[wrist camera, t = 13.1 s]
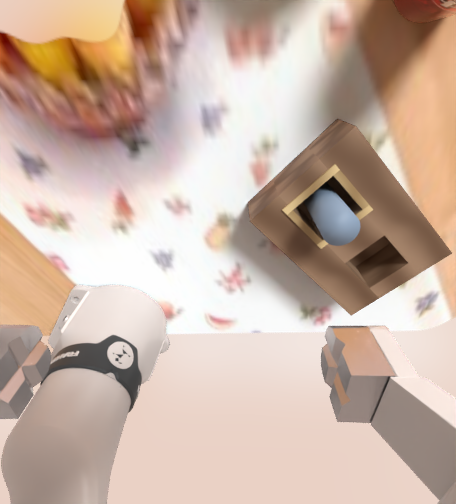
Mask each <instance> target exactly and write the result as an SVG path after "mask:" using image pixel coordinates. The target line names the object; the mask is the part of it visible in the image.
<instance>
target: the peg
mask: <svg viewBox="0 0 456 504" xmlns="http://www.w3.org/2000/svg"><path fill="white" fill-rule="evenodd" d="M303 202H304V204H305V205H306V207H307V209H308V211H309V213H310V215H311V216H312V218H313V220H314V222H315V224H316V226H317V228H318V229H319V231H320V233H321V235H322V237H323V239H324V240H325V241H326V242H327V243H328V244H330V245H334V246H341V245H345V244H348V243H350V242H351V241H353V240H354V239H355V238H356V237H357V235H358V233H359V231H360V221H359V219H358V218H357V216H356V215H355V214H354V213H353V212H352V211H351V210H350V208H349V207H348V206H347V205H346V204H345V203H344V201H343V200H342V199H341V198H340V197H339V196H338V195H337V193H336V192H335V191H334V190H333V189H332V188H331V186H330V185H329V184H328V183H327V182H325V183H324V184H323V185H322V186H320V187H319V188H318V189H317V190H316V191H315V192H313V193H312V194H311V195H310V196H309V197H308V198H306V199H305V200H304V201H303Z"/></svg>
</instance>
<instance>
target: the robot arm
mask: <svg viewBox="0 0 456 504" xmlns="http://www.w3.org/2000/svg"><path fill="white" fill-rule="evenodd" d="M77 297H78V298H77ZM42 336H43V335H42V333H41V331H40V329H39V327H37V326H30V325H0V419H18V418H19V417H20V415H21V413H22V412H23V410H24V409H25V407H26V406H27V404H28V403H29V401H30V399H31V398H32V396H33V387H34V386H35V385H37V384H38V383H39V382H41V386H40V388H39V389H38V391H37V392H36V394H35V396H34V397H33V399H32V400H31V402H30V403H29V405H28V407H27V408H26V410H25V411H24V413H23V414H22V416H21V418H20V419H19V421H18V422H17V424H16V425H15V427H14V428H13V430H12V432H11V433H10V435H9V436H8V438H7V440H6V443H5V446H4V449H3V454H2V460H1V467H2V473H3V477H4V479H5V482H6V485H7V487H8V491H9V494H10V500H11V504H107V495H108V488H109V481H110V475H111V470H112V465H113V462H114V458H115V455H116V451H117V448H118V444H119V441H120V437H121V434H122V430H123V427H124V424H125V421H126V418H127V414H128V413H129V412H130V411H131V409H132V408H133V405H134V403H135V401H136V399H137V397H138V394H139V391H140V385H141V384H142V383H144V382H145V381H148V380H149V379H150V378H151V376H152V373H153V370H154V368H155V365H156V362H157V360H158V357H159V354H160V353H163V352H165V351H166V350H168V348H169V345H170V342H169V339H168V337H167V335H166V317H165V314H164V312H163V310H162V308H161V307H160V305H159V304H158V303H157V302H156V301H155V300H154V299H153V298H151V297H150V296H149V295H147V294H145V293H144V292H142V291H140V290H137V289H135V288H132V287H128V286H123V285H105V286H99V287H92V286H86V285H75V286H74V287H73V289H72V290H71V292H70V294H69V296H68V299H67V301H66V303H65V305H64V307H63V309H62V311H61V313H60V316H59V318H58V320H57V322H56V324H55V326H54V328H53V330H52V333H51V335H50V337H49V339H48V342H49V344H50V345H51V347H52V348H53V349H54V350H53V352H52V354H51V352H50V350H49V348H48V346H47V345H45V344H44V343H42V342H41V341H40V340H41V338H42ZM325 338H326V341H327V344H326V345H325V346H324V347H323V348H322V353H321V367H322V373H323V377H324V380H325V382H326V383H327V384H328V385H329V386H330V387H331V388H332V390H331V394H330V400H331V403H332V406H333V409H334V413H335V415H336V419H337V421H338V422H362V423H371V425H372V427H373V428H374V429H375V430H376V431H377V432H378V433H379V434H380V435H381V437H382V438H383V439H384V440H385V441H386V442H387V443H388V444H389V445H390V446H391V447H392V449H393V450H394V451H395V452H396V453H397V454H398V455H399V456H400V457H401V459H402V460H403V461H404V462H405V463H406V464H407V465H408V466H409V467H410V468H411V470H412V471H413V472H414V473H415V474H416V475H417V476H418V477H419V478H420V480H421V481H422V482H423V483H424V484H425V485H426V486H427V487H428V488H429V489H430V491H431V492H432V493H433V494H434V495H435V496H436V497H437V498H438V499H439V500H440V501H439V502H438V504H456V398H455V397H453V396H452V395H451V394H449V393H448V392H446V391H445V390H443V389H442V388H440V387H439V386H438V385H436V384H435V383H433V382H432V381H430V380H429V379H428V378H426V377H419V376H418V374H417V373H416V371H415V369H414V368H413V366H412V365H411V363H410V362H409V360H408V358H407V357H406V355H405V354H404V352H403V351H402V349H401V348H400V346H399V344H398V343H397V341H396V340H395V338H394V336H393V335H392V333H391V332H390V330H389V329H388V328H387V327H386V326H328V328H327V330H326V334H325Z"/></svg>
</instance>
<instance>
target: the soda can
mask: <svg viewBox="0 0 456 504" xmlns="http://www.w3.org/2000/svg"><path fill="white" fill-rule="evenodd" d="M394 3H395V6H396V8H397V10H398V11H399V13H400V14H401V15H402V16H403V17H404V18H406V19H407V20H409V21H412V22H415V23H427V22H431V21H435V20H438V19H442V18H445V17H448V16H452V15H455V14H456V0H394Z"/></svg>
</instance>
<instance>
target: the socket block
mask: <svg viewBox="0 0 456 504" xmlns="http://www.w3.org/2000/svg"><path fill="white" fill-rule="evenodd" d="M325 182H327V183H328V184H329V185H330V186H331V188H332V189H333V190H334V191H335V192H336V193H337V195H338V196H339V197H340V198H341V199H342V200H343V201H344V203H345V204H346V205H347V206H348V207H349V208H350V210H351V211H352V212H353V213H354V214H355V215H356V216H357V218H358V219H359V221H360V231H359V233H358V235H357V237H356V238H355V239H354V240H353V241H351V242H350V243H348V244H345V245H341V246H334V245H330V244H328V243H327V242H326V241H325V240H324V239H323V237H322V235H321V233H320V231H319V229H318V228H317V226H316V224H315V222H314V220H313V218H312V216H311V215H310V213H309V211H308V209H307V207H306V205H305V204H304V202H303V201H304V200H305V199H306V198H308V197H309V196H310V195H311V194H312V193H313V192H315V191H316V190H317V189H318V188H319V187H320V186H322V185H323V184H324V183H325ZM248 206H249V217H250V222H251V223H252V224H253V225H254V226H255V227H257V228H258V229H259V230H260V231H261V232H262V233H263V234H264V235H265V236H266V237H267V238H268V239H269V240H270V241H272V242H273V243H274V244H275V245H276V246H277V247H278V248H279V249H280V250H281V251H282V252H283V253H284V254H286V255H287V256H288V257H289V258H290V259H291V260H292V261H293V262H294V263H295V264H296V265H297V266H298V267H300V268H301V269H302V270H303V271H304V272H305V273H306V274H307V275H308V276H309V277H310V278H311V279H312V280H314V281H315V282H316V283H317V284H318V285H319V286H320V287H321V288H322V289H323V290H324V291H325V292H326V293H328V294H329V295H330V296H331V297H332V298H333V299H334V300H335V301H336V302H337V303H338V304H339V305H340V306H342V307H343V308H344V309H345V310H346V311H347V312H348V313H349V314H350V315H353V314H354V313H356V312H358V311H359V310H361V309H362V308H364V307H366V306H367V305H369V304H371V303H372V302H374V301H375V300H377V299H379V298H380V297H382V296H384V295H385V294H387V293H388V292H390V291H392V290H393V289H395V288H397V287H398V286H400V285H401V284H403V283H405V282H406V281H408V280H410V279H411V278H413V277H414V276H416V275H418V274H419V273H421V272H423V271H424V270H426V269H427V268H429V267H431V266H432V265H434V264H436V263H437V262H439V261H440V260H442V259H444V258H445V257H447V256H449V255H450V254H452V252H451V251H450V250H449V248H448V247H447V246H446V244H445V243H444V242H443V240H442V239H441V238H440V236H439V235H438V234H437V232H436V231H435V230H434V229H433V227H432V226H431V225H430V223H429V222H428V221H427V219H426V218H425V217H424V215H423V214H422V213H421V211H420V210H419V209H418V207H417V206H416V205H415V203H414V202H413V201H412V199H411V198H410V197H409V196H408V194H407V193H406V192H405V190H404V189H403V188H402V186H401V185H400V184H399V182H398V181H397V180H396V178H395V177H394V176H393V174H392V173H391V172H390V170H389V169H388V168H387V166H386V165H385V164H384V162H383V161H382V160H381V159H380V157H379V156H378V155H377V153H376V152H375V151H374V149H373V148H372V147H371V145H370V144H369V143H368V141H367V140H366V139H365V137H364V136H363V135H362V133H361V132H360V131H359V129H358V128H357V127H356V126H354V125H352V124H349V123H347V122H344V121H342V120H339V119H337V120H336V121H335V122H333V123H332V124H331V125H330V126H329V127H328V128H327V129H326V130H325V131H324V132H323V133H322V134H321V135H320V136H318V137H317V138H316V139H315V140H314V141H313V142H312V143H311V144H310V145H309V146H308V147H307V148H306V149H305V150H303V151H302V152H301V153H300V154H299V155H298V156H297V157H296V158H295V159H294V160H293V161H292V162H291V163H290V164H288V165H287V166H286V167H285V168H284V169H283V170H282V171H281V172H280V173H279V174H278V175H277V176H276V177H275V178H274V179H272V180H271V181H270V182H269V183H268V184H267V185H266V186H265V187H264V188H263V189H262V190H261V191H260V192H259V193H257V194H256V195H255V196H254V197H253V198H252V199H251V200H250V201H249V202H248Z"/></svg>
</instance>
